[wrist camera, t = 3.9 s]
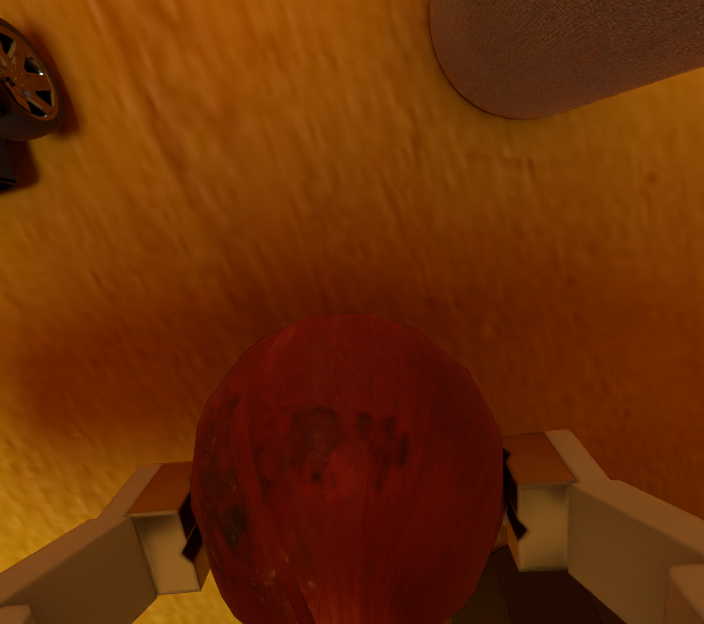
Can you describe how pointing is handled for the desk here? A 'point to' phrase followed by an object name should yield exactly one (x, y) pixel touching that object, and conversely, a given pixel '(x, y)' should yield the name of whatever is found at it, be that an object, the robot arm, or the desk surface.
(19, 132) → the toy car
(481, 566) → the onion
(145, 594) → the robot arm
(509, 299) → the desk surface
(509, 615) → the jar
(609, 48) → the black topped cylinder
